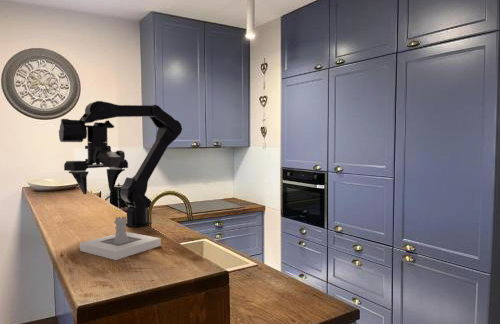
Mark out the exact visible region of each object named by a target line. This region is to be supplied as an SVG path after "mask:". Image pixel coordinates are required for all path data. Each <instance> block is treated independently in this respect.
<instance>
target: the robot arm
mask: <svg viewBox="0 0 500 324" xmlns="http://www.w3.org/2000/svg"><path fill="white" fill-rule="evenodd" d="M138 117H139V118H142V117H143V118H148V117H149V119H150V120H151V121H152V123H153V124H154V126H155V127H156V128H157V131H156V138H155V140H154V143H153V144H152V146H151V148H150V150H149V151H148V153H147V154H146V156H145V158H144V159H143V161H142V163H141V164H140V167H139V168H138V170H137V172H136V173H135V175H133V176H132V177H126V178H125V180H124V182H123V184H122V185H121V186H120V189H121V190H120V192H119V194H120V195H119V196H120V197H121V199H122V200H123V201H124V202H125V204H126V206H127V212H126V220H127V222H126V226H127V227H132V228H133V227H134V228H140V227H144V226H149V225H152V224H153V222H152V221H149V220H150V217H149V215H150V214H149V211H150V210H149V208H151V205H152V200H151V199H150V198H149V197H148V196H147V195H146V193H147V191H148V184H149V183H148V182H149V181H150V179H151V176H152V175H153V173H154V171H155V170H156V168H157V166H158V164H159V162H160V160H161V159H162V157H163V156H164V154H165V152H166V150H167V148H168V147H169V146H170V145H171V144H172V143H173V142H174V141H175V140H176V139H177V138H178V137H179V136H180V135H181V133H182V131H183V127H182V124H181V122H180V121H179V120H177V119H174V117H173V116H172V115H171V114H169V113H167V112H166V111H164V110H163V109H162V108H161V106H159V105H157V104H152V105H141V104H140V105H139V104H138V105H136V104H135V105H133V104H132V105H131V104H130V105H129V104H128V105H127V104H122V105H121V104H116V103H112V102H107V101H103V100H97V101H94V102H93V101H92V102H90V103H88V104H87V105H86V106H85V108H84V114H83V115H81V117H80V118H79V119H68V118H61V119H60V124H59V130H58V136H59V141H60V142H61V143H83V141H84V140H86V139H87V145H84V149H85V150H87V158H85V159H84V160H66V161H65V163H64V164H63V170H64V171H67V172H68V174H71V176H72V177H73V178H74V179H75V181H76V183H77V185H78V186H79V189H80V191H81V192H82V194H83V195H87V193H88V192H87V191H88V188H87V187H88V185H87V184H88V183H87V181H88V179H87V177H88V175H89V171H87V170H88V169H98V168H99V169H100V168H106V176H107V184H108V188H109V189H108V190H109V192H113V191H114V189H115V185H116V183H117V181H118V177H119V175H120V174H121V173H122V172H124V171H126V169H128V168H129V162H128V160H127V159H125V157H126V156H125V154H126V153H125V151H124V150H116V151H112V148H111V145H108V144H109V143H108V129H114V128H115V125H113V123H111V121H110V119H113V118H138ZM108 119H109V120H108ZM102 120H105V121H104V122H97V121H102ZM90 123H91V124H93V125H89V124H90ZM86 124H88V125H86Z"/></svg>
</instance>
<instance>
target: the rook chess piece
mask: <svg viewBox="0 0 500 324" xmlns="http://www.w3.org/2000/svg"><path fill="white" fill-rule="evenodd" d="M113 223H115V234H116V236H115V239H114V241H113V243H115V244H122V243H126V242H129V240H128V238H127V234H126V232H127V227H128V226H127V225H126V223H127V216H118V217H117V216H116V217H115V220H114V222H113Z"/></svg>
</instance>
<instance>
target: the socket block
mask: <svg viewBox="0 0 500 324" xmlns="http://www.w3.org/2000/svg"><path fill="white" fill-rule="evenodd" d="M126 234H127V238H128V240H129V242H126V243H122V244H115V243H113V241H114V239H115V236H116V233H114V234H110V235H106V236H104V237H99V238H94V239H90V240H86V241H82V242H79V251H80V252H84V253H86V254H91V255H95V256H99V257H102V258H106V259H108V260H109V259H110V260H114V261H117V260H120V259H125V258H127V257H130V256H133V255H136V254H139V253H143V252H145V251H149V250H152V249H155V248H158V247H161V244H162V243H161V242H162V241H161V237H155V236H150V235H144V234H139V233H136V232H135V233H134V232H128V231H126Z"/></svg>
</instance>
